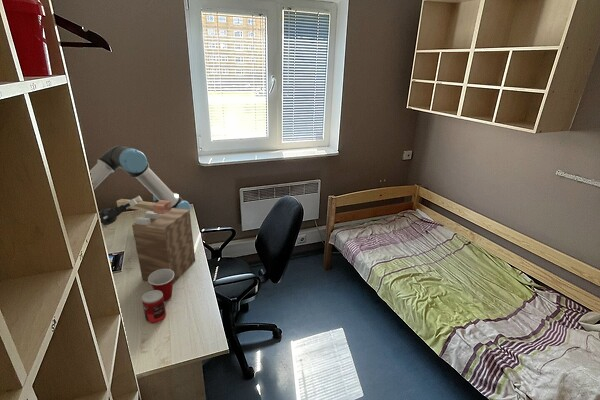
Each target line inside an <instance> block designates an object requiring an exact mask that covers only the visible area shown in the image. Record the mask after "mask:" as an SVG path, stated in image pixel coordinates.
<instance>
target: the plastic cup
mask: <svg viewBox="0 0 600 400" xmlns="http://www.w3.org/2000/svg"><path fill="white" fill-rule="evenodd" d="M173 278H174V272H173V271H172V270H170V269H160V270H156V271H154V272H152V273H151V274H150V275H149V277H148V281H147V282H148V283H149V284H150V285H151V287H152V290H159V291H161V292H162V294H163V298H164V303H165V302H167V301H170V300H171V299H172V295H173V285H174V284H173Z"/></svg>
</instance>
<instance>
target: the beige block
mask: <svg viewBox="0 0 600 400" xmlns="http://www.w3.org/2000/svg"><path fill="white" fill-rule="evenodd" d="M130 200H131V199H124V198H120V199H118V200H116V207H120V206H121V205H123V204H125V203H126V202H128V201H130ZM136 202H137V204H135V205H134V206H132V207H130V208H128V210H129V209H131V210H137V211H145V212H147V211H153V212H154V213H157V214H165V213H167V212H168V211H170V210H171V209H172V208H171V201H165V200H160V201H158V202H157V203H154V201H153V202H151V201H144V200H143V201H136ZM123 206H124V205H123Z"/></svg>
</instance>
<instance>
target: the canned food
mask: <svg viewBox="0 0 600 400" xmlns="http://www.w3.org/2000/svg"><path fill="white" fill-rule="evenodd" d="M141 302H142V308H143V312H144V318H145V321H147V322H148V324H158V323H160V322H162V321H163V320H164V319H165V318H166V315H167V312H166V305H165V302H164V298H163V294H162V292H161V291H159V290H154V289H152V290H148V291H147V292H145V293H144V294H143V295H142V296H141Z"/></svg>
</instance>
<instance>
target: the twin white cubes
mask: <svg viewBox="0 0 600 400" xmlns="http://www.w3.org/2000/svg"><path fill="white" fill-rule="evenodd" d="M144 217H146V218H144ZM144 217H141V216H140V217H139V216H138V217H135V218H134V221H135V222H134V223H136V224H139V225H147V226H148V225H149V224H151V221H150V218H152V219H158V218H159V217H160V214H157V213H154V212H153V211H145V212H144Z"/></svg>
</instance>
